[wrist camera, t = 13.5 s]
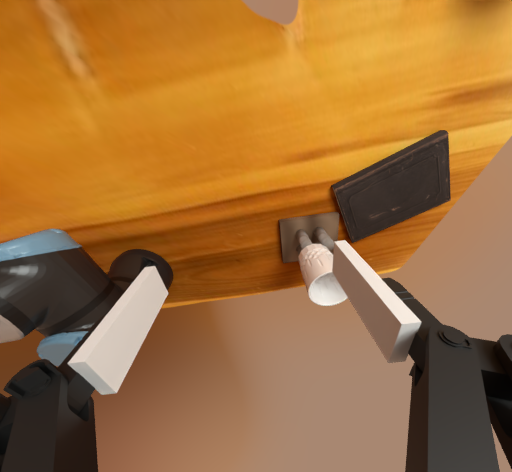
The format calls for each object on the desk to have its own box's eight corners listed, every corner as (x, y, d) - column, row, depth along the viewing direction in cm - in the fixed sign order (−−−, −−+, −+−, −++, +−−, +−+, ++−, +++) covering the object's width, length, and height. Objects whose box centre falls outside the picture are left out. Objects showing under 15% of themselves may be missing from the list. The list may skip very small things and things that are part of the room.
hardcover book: (441, 197, 45) (450, 200, 43) (348, 238, 49) (352, 243, 47) (437, 130, 38) (448, 129, 36) (329, 185, 42) (333, 187, 40)
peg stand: (282, 259, 51) (288, 280, 44) (278, 219, 45) (284, 236, 38) (333, 253, 51) (348, 273, 43) (336, 211, 45) (354, 226, 37)
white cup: (339, 249, 40) (364, 281, 31) (317, 275, 43) (334, 311, 34) (309, 234, 38) (327, 264, 29) (288, 263, 41) (299, 297, 32)
